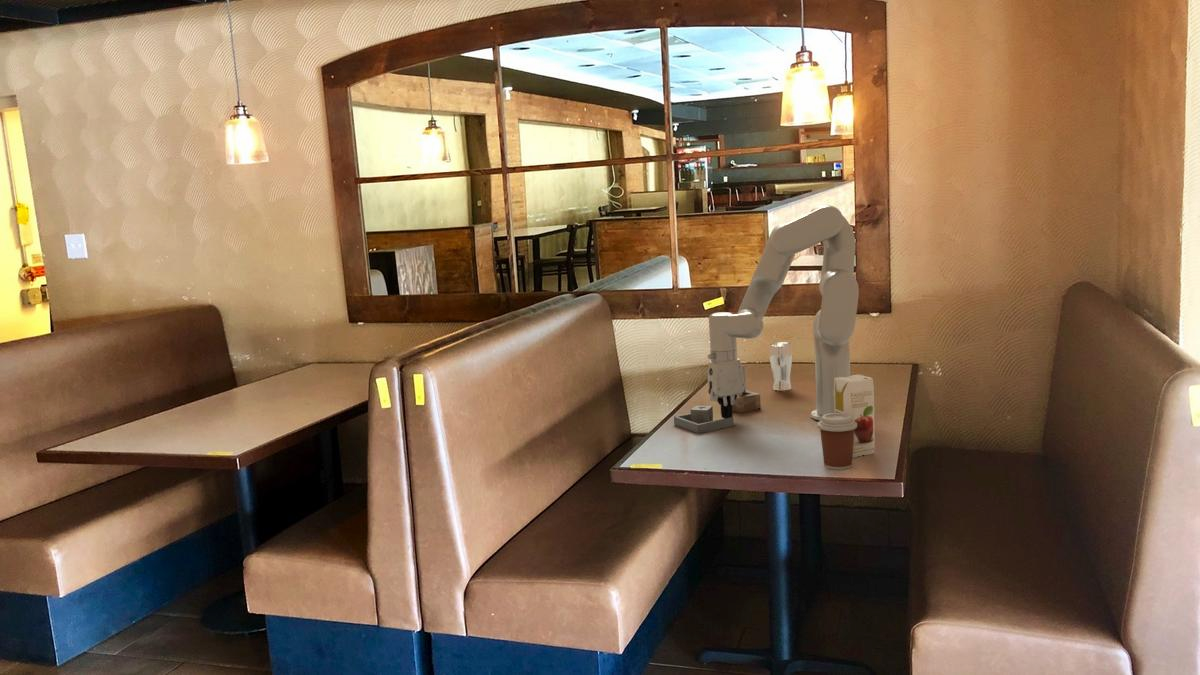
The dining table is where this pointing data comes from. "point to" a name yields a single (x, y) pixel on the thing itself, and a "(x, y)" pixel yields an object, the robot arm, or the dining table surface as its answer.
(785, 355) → the beer glass
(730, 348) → the robot arm
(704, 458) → the dining table surface
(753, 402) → the walnut block
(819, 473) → the dining table surface
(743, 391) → the steel pin
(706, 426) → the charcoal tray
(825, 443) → the coffee cup
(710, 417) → the dice cube
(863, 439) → the juice carton
